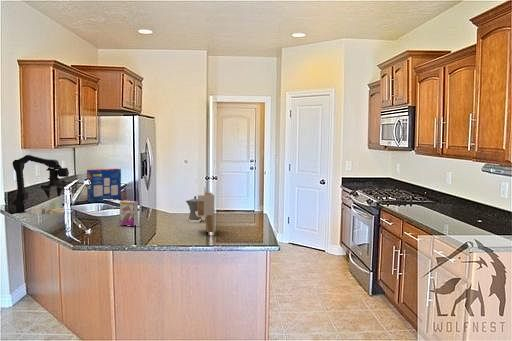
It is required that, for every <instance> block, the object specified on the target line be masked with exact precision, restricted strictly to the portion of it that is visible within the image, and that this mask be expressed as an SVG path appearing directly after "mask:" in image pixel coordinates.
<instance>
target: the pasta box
mask: <svg viewBox="0 0 512 341" xmlns="http://www.w3.org/2000/svg"><path fill="white" fill-rule="evenodd" d="M87 179H89V180H90V182H91V185H89V186H86V188H87V189H86V191H87V192H86V194H87V195H86V197H87V199H86V200H87V202H90V203H95V202H96V201H98V202H101V201H100V200H103V199H113V200H112V201H117V200H122V169H121V168H100V169H94V168H93V169H87V170H86V180H87ZM96 203H97V202H96Z"/></svg>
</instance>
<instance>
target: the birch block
mask: <svg viewBox="0 0 512 341" xmlns="http://www.w3.org/2000/svg"><path fill="white" fill-rule="evenodd" d="M64 208H65V207H61V208H59V209H50V207H47V208H45V209H44V214H45V215H52V216H56V215H62V214H65V213H64Z"/></svg>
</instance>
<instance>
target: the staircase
mask: <svg viewBox="0 0 512 341" xmlns="http://www.w3.org/2000/svg"><path fill="white" fill-rule="evenodd" d="M197 199H198V211H195V214H196V215H197V217H201V218H205V229H206V233H207V232H213V233H214V234H215V226H216V225H215V222H216V221H215V220H216V219H215V217H216V216H215V194H214V193H212V192H207V190H206V188H204V195H203V194H202V195H197Z"/></svg>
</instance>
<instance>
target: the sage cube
mask: <svg viewBox="0 0 512 341" xmlns="http://www.w3.org/2000/svg"><path fill="white" fill-rule="evenodd" d="M49 204H50V206H49V208H50V209H59V208H62V207H61V204H62V202H61V201H60V200H59V201H57V200H55V201H50V203H49Z"/></svg>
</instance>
